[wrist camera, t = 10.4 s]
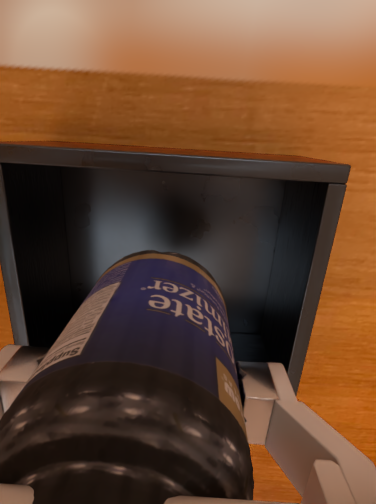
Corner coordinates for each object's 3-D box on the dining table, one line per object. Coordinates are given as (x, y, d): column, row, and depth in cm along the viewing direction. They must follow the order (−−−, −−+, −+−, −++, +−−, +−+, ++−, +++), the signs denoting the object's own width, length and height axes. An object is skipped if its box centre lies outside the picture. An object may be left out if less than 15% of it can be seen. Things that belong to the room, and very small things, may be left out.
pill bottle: (251, 306, 14) (407, 769, 4) (163, 379, 16) (103, 838, 5) (153, 216, 13) (-30, 565, 2) (67, 306, 14) (-262, 744, 4)
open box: (50, 140, 19) (-23, 141, 13) (299, 155, 19) (352, 164, 13) (68, 324, 24) (22, 393, 17) (267, 337, 24) (293, 410, 17)
